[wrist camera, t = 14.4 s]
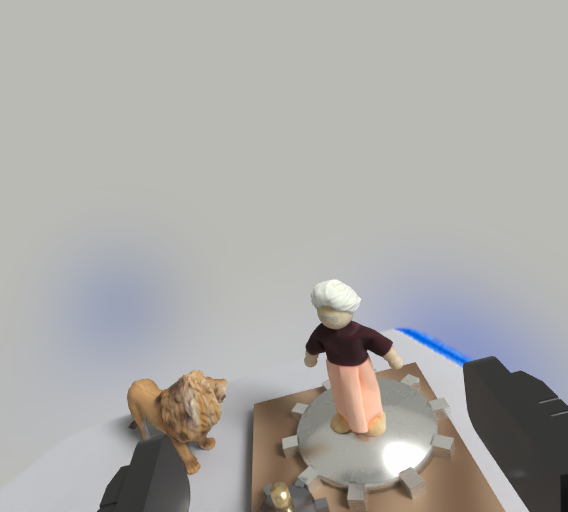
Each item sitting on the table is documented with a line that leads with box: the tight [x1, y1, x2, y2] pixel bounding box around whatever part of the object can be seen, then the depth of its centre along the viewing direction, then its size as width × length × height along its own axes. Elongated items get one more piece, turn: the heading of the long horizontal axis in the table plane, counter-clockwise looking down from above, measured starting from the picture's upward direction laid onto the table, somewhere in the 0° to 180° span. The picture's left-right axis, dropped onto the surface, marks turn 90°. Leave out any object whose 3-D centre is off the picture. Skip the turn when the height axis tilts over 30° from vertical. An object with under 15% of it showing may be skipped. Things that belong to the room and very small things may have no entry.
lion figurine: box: [127, 371, 227, 474], centre depth 39 cm, size 15×5×9 cm, turn 62°
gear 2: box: [282, 369, 455, 511], centre depth 34 cm, size 13×13×1 cm
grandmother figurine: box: [304, 280, 403, 436], centre depth 31 cm, size 8×4×13 cm, turn 77°
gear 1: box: [259, 477, 330, 512], centre depth 28 cm, size 6×5×3 cm
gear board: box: [251, 362, 505, 512], centre depth 33 cm, size 16×17×2 cm
